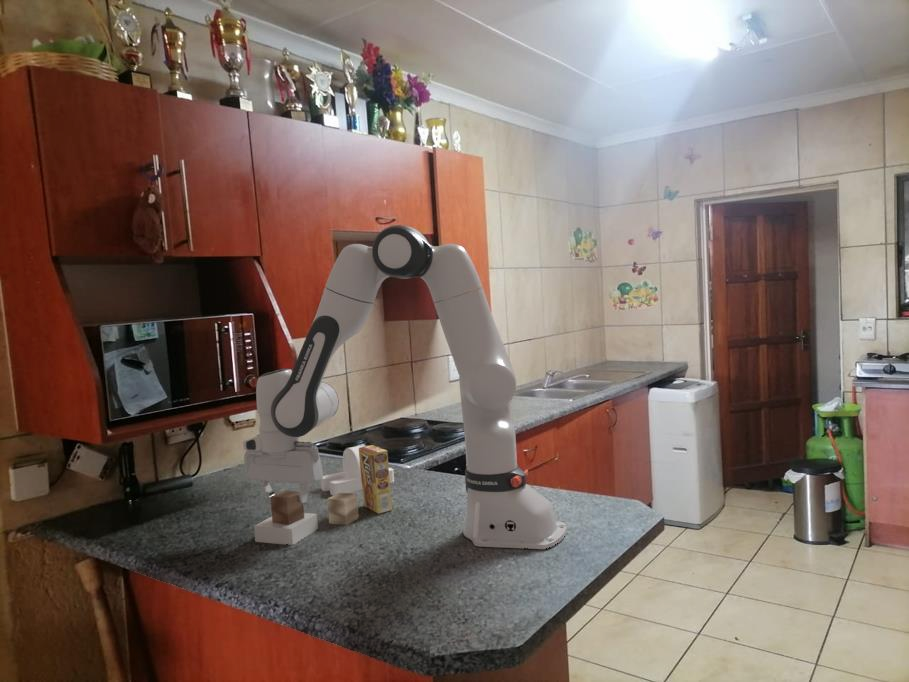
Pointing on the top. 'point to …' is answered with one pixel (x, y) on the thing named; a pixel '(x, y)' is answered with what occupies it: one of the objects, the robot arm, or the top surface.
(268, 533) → the stone slab
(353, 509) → the beech block
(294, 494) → the walnut block
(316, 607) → the top surface
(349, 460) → the bracket
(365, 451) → the candy box
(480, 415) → the robot arm
